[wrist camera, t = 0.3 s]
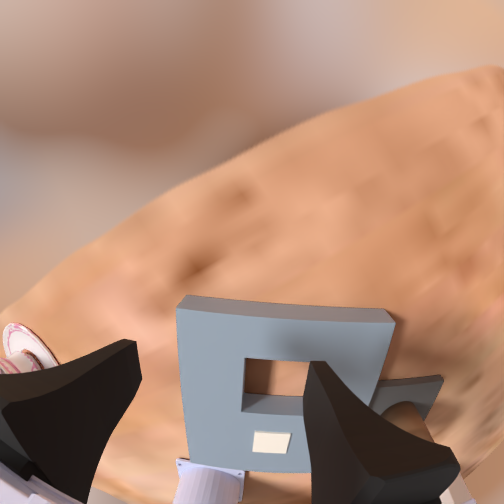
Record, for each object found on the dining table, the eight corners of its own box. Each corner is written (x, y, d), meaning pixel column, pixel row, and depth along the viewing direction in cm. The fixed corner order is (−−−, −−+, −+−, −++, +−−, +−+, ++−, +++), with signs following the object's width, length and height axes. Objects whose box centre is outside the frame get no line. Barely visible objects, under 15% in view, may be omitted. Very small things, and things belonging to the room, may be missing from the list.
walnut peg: (406, 427, 21) (431, 483, 14) (372, 431, 22) (391, 493, 14) (420, 398, 20) (453, 456, 13) (385, 403, 21) (412, 467, 13)
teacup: (-4, 313, 24) (-35, 331, 18) (52, 332, 23) (16, 359, 17) (22, 388, 27) (-1, 410, 21) (81, 414, 26) (58, 445, 20)
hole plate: (334, 454, 24) (337, 472, 21) (195, 446, 25) (190, 464, 22) (384, 308, 20) (396, 323, 17) (186, 294, 21) (174, 309, 18)
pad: (412, 430, 23) (414, 436, 22) (346, 438, 23) (348, 445, 22) (440, 374, 21) (444, 380, 20) (368, 381, 21) (371, 388, 20)
